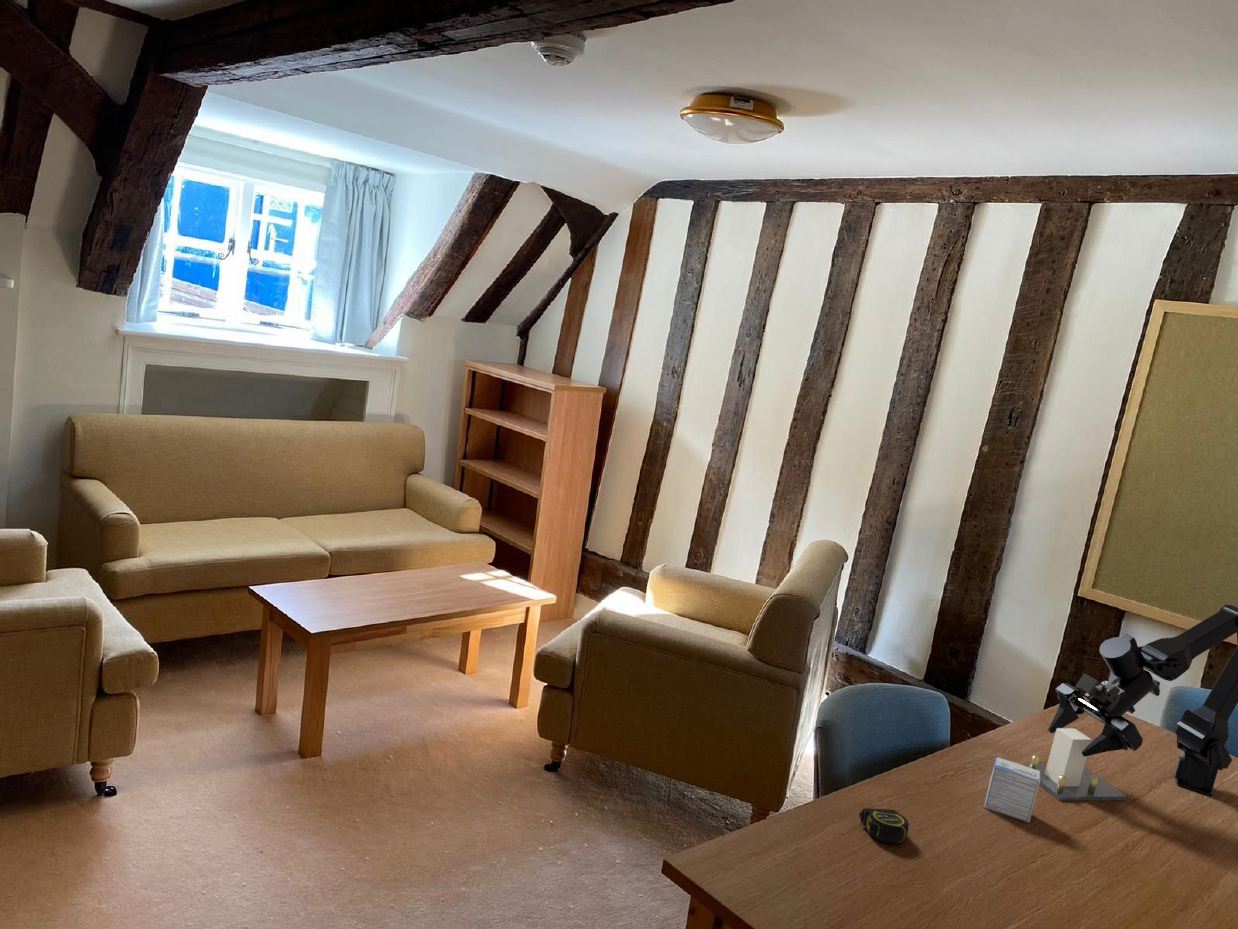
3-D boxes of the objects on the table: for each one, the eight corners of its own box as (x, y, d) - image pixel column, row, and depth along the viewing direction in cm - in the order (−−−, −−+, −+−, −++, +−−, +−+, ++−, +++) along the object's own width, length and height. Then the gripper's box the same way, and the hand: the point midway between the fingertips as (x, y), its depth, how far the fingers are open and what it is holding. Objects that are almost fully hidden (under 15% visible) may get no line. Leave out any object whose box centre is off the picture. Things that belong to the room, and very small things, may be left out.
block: (1062, 774, 193) (1074, 728, 192) (1078, 786, 189) (1091, 739, 187) (1044, 774, 192) (1056, 728, 190) (1060, 786, 188) (1073, 739, 186)
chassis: (1081, 768, 200) (1085, 751, 199) (1125, 800, 188) (1130, 782, 188) (1017, 768, 195) (1022, 751, 194) (1059, 800, 183) (1064, 782, 183)
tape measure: (893, 825, 165) (898, 806, 164) (912, 849, 158) (917, 829, 157) (856, 823, 163) (861, 803, 163) (873, 847, 157) (878, 827, 156)
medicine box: (1030, 813, 177) (1041, 770, 175) (1029, 824, 172) (1040, 780, 171) (985, 798, 180) (996, 756, 178) (983, 808, 176) (994, 765, 174)
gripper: (1074, 645, 196) (1017, 694, 195) (1146, 685, 178) (1084, 739, 177) (1095, 682, 200) (1039, 730, 198) (1168, 725, 182) (1107, 778, 181)
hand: (1065, 743), depth 189 cm, fingers open, 9 cm apart
